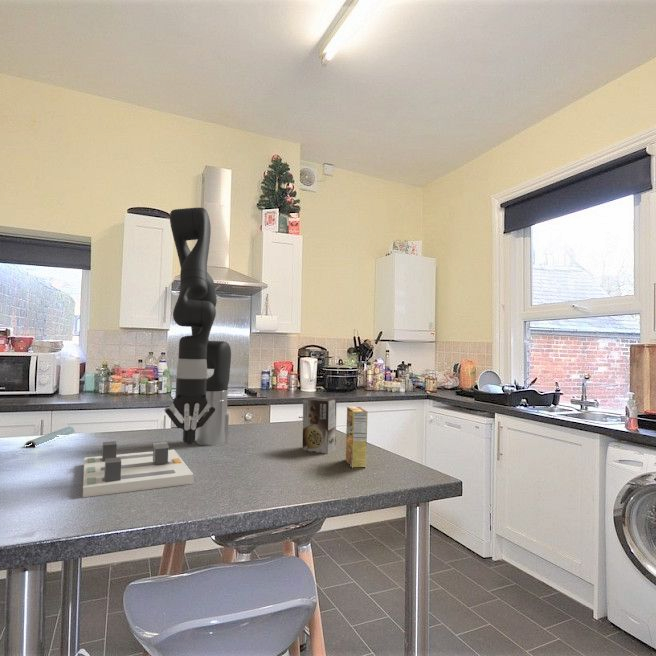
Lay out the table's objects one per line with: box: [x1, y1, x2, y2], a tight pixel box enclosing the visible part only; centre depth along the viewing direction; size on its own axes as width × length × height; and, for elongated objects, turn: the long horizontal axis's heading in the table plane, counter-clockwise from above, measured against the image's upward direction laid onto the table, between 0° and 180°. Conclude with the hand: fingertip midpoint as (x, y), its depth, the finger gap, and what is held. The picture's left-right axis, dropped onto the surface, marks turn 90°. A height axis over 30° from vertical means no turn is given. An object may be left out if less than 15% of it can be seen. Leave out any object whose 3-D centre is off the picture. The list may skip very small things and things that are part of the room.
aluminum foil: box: [24, 426, 75, 447], centre depth 137 cm, size 23×7×3 cm, turn 5°
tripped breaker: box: [152, 441, 170, 464], centre depth 108 cm, size 3×4×4 cm
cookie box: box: [301, 396, 337, 454], centre depth 135 cm, size 9×6×16 cm
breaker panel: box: [82, 440, 194, 498], centre depth 105 cm, size 22×26×6 cm
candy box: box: [345, 406, 368, 469], centre depth 120 cm, size 9×4×15 cm, turn 10°
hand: (188, 444), depth 111 cm, fingers closed
